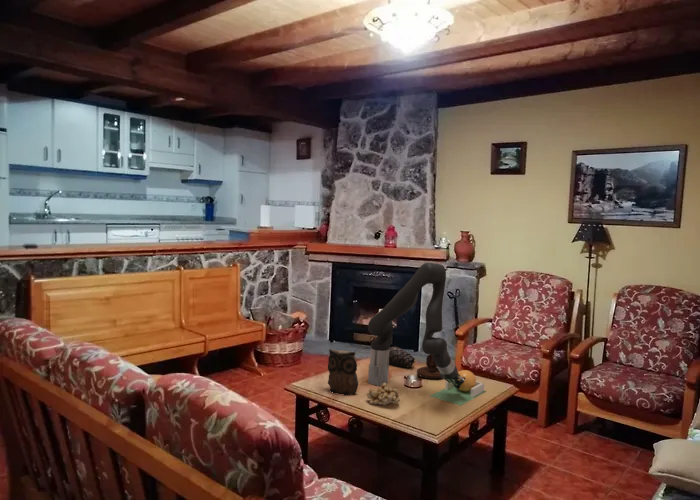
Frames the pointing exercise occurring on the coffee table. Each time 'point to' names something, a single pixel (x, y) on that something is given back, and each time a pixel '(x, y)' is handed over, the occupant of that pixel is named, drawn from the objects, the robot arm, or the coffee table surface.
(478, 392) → the white side walls
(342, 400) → the coffee table surface
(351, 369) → the owl
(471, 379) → the ball
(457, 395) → the felt strip
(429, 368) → the dark wooden ornament
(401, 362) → the pine cone
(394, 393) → the mineral formation
